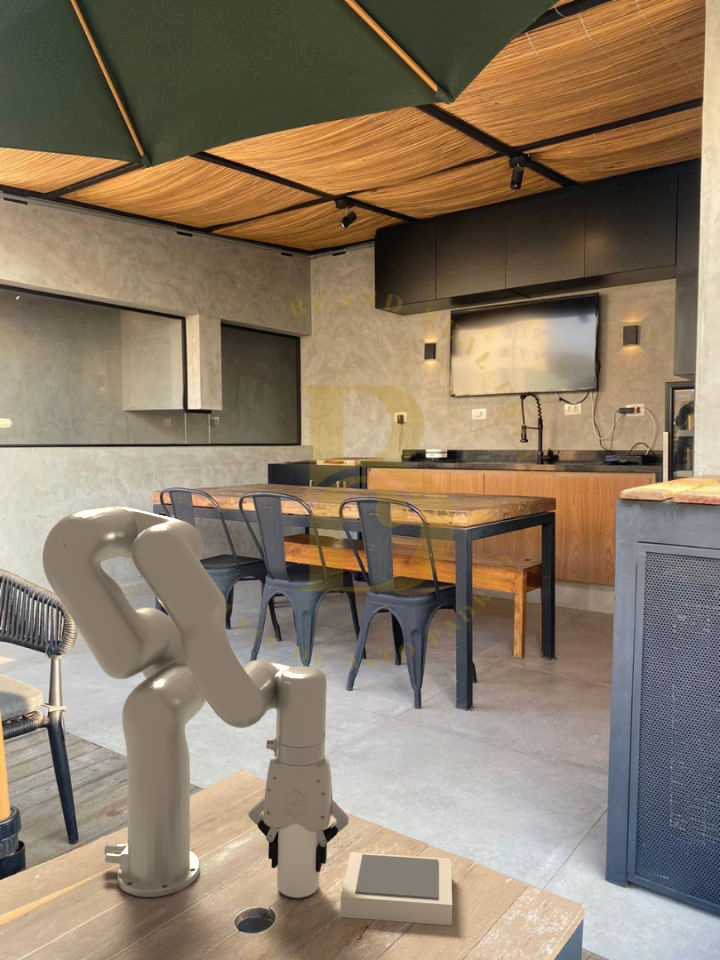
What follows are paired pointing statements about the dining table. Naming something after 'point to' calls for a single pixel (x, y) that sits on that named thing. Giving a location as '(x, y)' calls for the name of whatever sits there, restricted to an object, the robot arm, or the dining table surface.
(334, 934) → the dining table surface
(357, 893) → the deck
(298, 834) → the can
